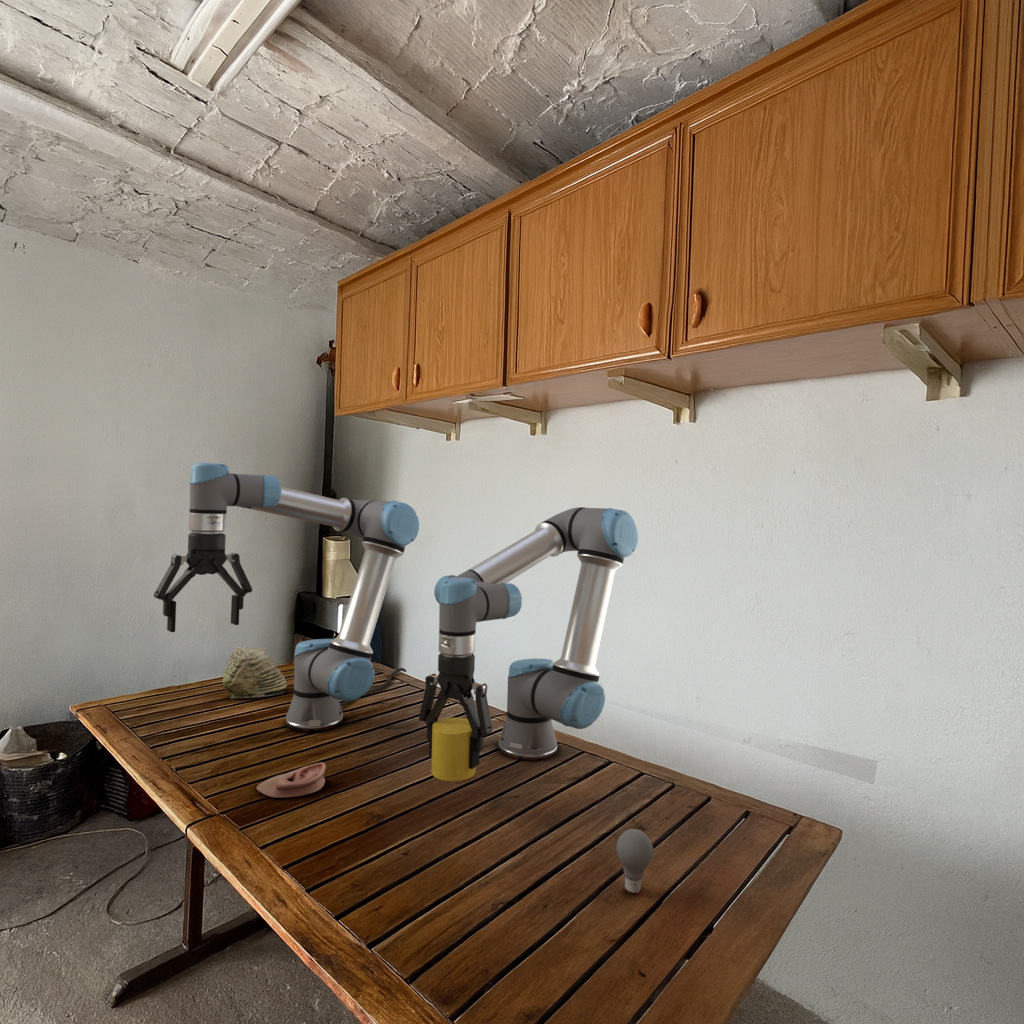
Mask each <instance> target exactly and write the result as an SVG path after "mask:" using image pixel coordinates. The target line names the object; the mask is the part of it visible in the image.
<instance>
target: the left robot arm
mask: <svg viewBox="0 0 1024 1024" xmlns="http://www.w3.org/2000/svg"><path fill="white" fill-rule="evenodd" d="M188 483H189V510H188V511H189V513H188V530H189V532H190V533H188V535H187V536H188V537H187V554H186V555H179V554H172V555H171V558H170V564H169V566H168V568H167V570H166V572H165V573H164V575H163V577H162V579H161V580H160V582H159V584H158V586H157V587H156V590H155V591H154V593H153V598H155V599H158V600H160V601H162V615H163V616H164V617H167V620H166V621H167V624H166V631H167V632H170V633H175V632H176V621H177V620H176V619H177V601H176V600H174V599H175V598H176V597H177V596H178V594H179V593H180V592H181V591H182V590H183V589H184V587H186V585H187V584H188V583H189V582H190V581H191V579H193V578H194V577H195V576H197V575H200V576H205V575H208V574H209V575H215V574H217V575H218V576H219V577H220V578H221V579H222V580H223V581H224V582H225V583H226V585H227V586H228V587H229V589H231V590H232V592H233V593H234V594H232V595H231V601H230V602H231V605H230V606H231V607H230V624H231V625H234V626H239V625H240V610H243V609H244V599H245V596H246V595H247V594H249V593H252V592H253V587H252V585H251V583H250V581H249V579H248V577H247V575H246V572H245V570H244V569H243V566H242V564H241V559H240V554H239V553H237V552H231V553H229V554H226V539H227V537H226V534H225V533H224V532H225V531H227V512H228V507H237V508H243V509H248V510H252V511H258V512H263V513H267V514H273V515H277V516H282V517H287V518H291V519H296V520H301V521H305V522H310V523H315V524H321V525H325V526H330V527H332V528H333V529H334V530H335V531H336V532H341V533H345V534H349V535H351V536H355V537H357V538H359V539H362V541H361V544H362V546H363V548H364V554H363V556H362V559H361V563H360V565H359V569H358V572H357V575H356V579H355V582H354V585H353V588H352V590H351V594H350V597H349V600H348V603H347V607H346V610H345V612H344V616H343V620H342V622H341V625H340V629H339V632H338V635H337V636H336V637H335V638H319V639H308V640H303V641H300V642H297V644H296V646H295V650H294V655H293V657H294V672H293V695H292V696H293V697H292V699H291V702H290V704H289V708H288V711H287V713H286V715H285V726H286V728H287V729H289V730H291V731H294V732H295V731H296V732H301V733H316V732H325V731H329V730H332V729H335V728H337V727H339V726H340V725H342V723H343V722H344V713H343V709H342V707H344V706H346V705H348V704H349V703H350V702H353V701H357V700H359V699H360V698H361V697H363V696H366V695H370V694H373V693H376V692H377V691H380V690H382V689H384V688H386V687H387V686H388V685H389V683H390V682H391V680H392V678H393V676H394V675H396V674H397V673H399V672H400V671H402V672H403V673H407V669H405V668H404V667H399V668H397V669H396V670H393V672H391V673H390V674H389V676H388V678H387V680H386V681H385V682H384V683H383V684H381V685H379V686H377V687H375V688H372V685H373V683H374V681H375V674H376V672H375V668H374V665H373V664H372V662H371V661H372V658H373V654H374V650H373V649H372V647H371V641H372V639H373V635H374V632H375V628H376V624H377V622H378V619H379V615H380V612H381V608H382V605H383V602H384V599H385V595H386V593H387V589H388V586H389V582H390V579H391V576H392V573H393V570H394V566H395V564H396V560H397V559H398V558H400V557H402V556H403V555H404V553H405V549H406V546H408V545H410V544H411V543H412V542H414V541H415V540H416V539H417V537H418V534H419V531H420V520H419V517H418V515H417V512H416V510H415V509H414V508H413V507H412V506H410V505H409V504H408V503H406V502H401V501H398V500H374V499H371V500H370V499H369V500H368V499H367V500H365V499H364V500H363V499H360V500H359V499H352V498H347V497H341V498H340V499H336V498H332V497H327V496H323V495H320V494H316V493H310V492H306V491H302V490H298V489H294V488H290V487H285V486H282V485H281V482H280V480H279V478H278V477H276V476H274V475H266V474H250V473H249V474H247V473H232V472H230V471H229V466H228V464H225V463H215V462H195V463H194V464H192V465H191V469H190V478H189V482H188ZM185 562H186V564H187V565H188V566H187V568H186V569H185V570H184V571H183V573H182V574H181V576H180V577H179V578H178V579H177V580H176V581H175V582H174V583H173V581H174V579H175V578H176V575H177V574H178V572H179V571H180V569H181V566H183V565H184V564H185ZM226 562H228V563H229V564H230V565H231V568H232V569H233V572H234V574H235V577H236V578H237V580H238V582H239V583H238V582H237V581H235V579H234V578H233V576H231V575H230V574H229V572H228V570H227V569H226V568H225V567H224V564H225V563H226ZM172 583H173V584H172ZM239 584H240V585H239ZM170 586H171V587H170ZM371 688H372V689H371ZM340 701H342V702H340Z"/></svg>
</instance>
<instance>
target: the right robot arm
mask: <svg viewBox="0 0 1024 1024" xmlns="http://www.w3.org/2000/svg"><path fill="white" fill-rule="evenodd" d="M638 541H639V532H638V527H637V524H636V522H635V520H634V518H633V516H632V515H631V514H630V513H629V512H627V511H626V510H623V509H617V508H612V507H607V508H604V507H603V508H602V507H583V506H582V507H581V506H579V507H578V506H577V507H572V508H570V509H569V508H568V509H566V510H563V511H561V512H559V513H557V514H555V515H553V516H551V517H549V518H547V519H545V520H544V521H542V522H540V523H538V524H537V525H536V527H535V529H534V531H532V532H531V533H529V534H527V535H526V536H524V537H522V538H520V539H519V540H517V541H515V542H514V543H512V544H510V545H508V546H507V547H505V548H503V549H501V550H500V551H498V552H496V553H495V554H493V555H491V556H490V557H488V558H486V559H485V560H482V561H481V562H479V563H477V564H475V565H474V566H472V567H470V568H469V569H467V570H465V571H463V572H462V573H460V574H458V575H455V574H454V575H453V574H451V575H448V574H447V575H444V576H442V577H440V578H439V579H438V580H437V582H436V583H435V586H434V591H433V593H434V599H435V601H436V602H437V604H438V605H439V606H438V607H439V610H438V611H439V612H438V613H439V615H438V617H439V618H438V630H439V631H438V652H439V654H438V655H437V658H438V659H437V671H438V674H436V673H432V674H429V675H427V676H425V679H424V680H425V689H424V694H423V696H422V697H423V698H422V701H421V705H420V706H421V707H420V711H419V715H418V720H419V721H420V722H423V723H425V725H426V739H427V741H429V742H428V758H429V759H432V727H433V724H434V723H435V722H436V721H438V720H439V717H440V716H441V714H442V712H443V710H444V708H445V706H446V704H447V702H448V700H449V699H453V700H456V701H459V702H458V703H459V705H460V706H462V708H463V711H464V713H465V716H466V719H468V722H469V724H470V727H471V730H472V732H473V735H472V736H470V752H469V768H470V769H473V768H475V767H476V768H477V767H478V766H479V765H480V752H481V751H483V749H484V737H486V736H487V735H489V734H491V733H492V732H493V726H492V725H493V724H492V719H491V714H490V707H489V702H488V696H487V693H488V684H487V683H486V682H485V683H482V684H481V683H478V682H476V680H475V678H474V674H475V668H476V667H475V666H476V664H475V663H476V661H475V660H476V655H475V652H476V632H477V631H476V629H477V623H481V622H487V621H494V620H495V621H497V620H506V619H509V618H512V617H516V615H518V614H519V613H520V611H521V609H522V605H523V597H522V593H521V591H520V589H519V588H518V586H517V585H515V584H514V583H509V582H510V581H512V580H514V579H515V578H517V577H519V576H520V575H522V574H523V573H525V572H526V571H528V570H529V569H531V568H533V567H535V566H536V565H537V564H539V563H541V562H543V561H544V560H546V559H548V558H549V557H553V558H554V557H558V556H559V555H562V554H563V553H566V552H567V553H568V552H577V553H576V557H577V559H578V560H579V561H580V569H579V574H578V577H577V582H576V588H575V592H574V595H573V601H572V605H571V609H570V615H569V619H568V622H567V623H568V624H567V628H566V632H565V633H566V634H565V638H564V642H563V646H562V651H561V655H560V657H559V658H558V660H556V661H553V660H552V659H550V658H524V659H523V658H522V659H518V660H514V661H513V662H511V663H510V665H509V668H508V676H507V695H506V696H507V697H506V699H507V702H506V719H505V721H504V724H503V726H502V730H501V732H500V735H499V738H498V746H497V748H498V750H499V752H501V753H502V754H504V755H505V756H506V757H507V756H508V757H511V758H512V759H518V760H523V761H540V760H544V759H549V758H551V757H553V756H555V755H556V753H558V739H557V737H556V733H555V729H554V725H553V722H552V720H553V721H555V722H557V723H559V724H561V725H562V726H564V727H569V728H574V729H576V730H582V729H586V728H589V727H590V726H592V725H593V723H595V722H596V721H597V720H598V718H599V717H600V715H601V714H602V712H603V709H604V706H605V703H606V702H605V701H606V693H605V690H604V687H603V686H602V685H601V684H600V683H599V680H600V672H599V671H598V669H597V667H596V665H597V660H598V659H597V658H598V654H599V649H600V645H601V639H602V636H603V635H602V634H603V631H604V625H605V621H606V616H607V611H608V607H609V603H610V597H611V593H612V588H613V582H614V577H615V573H616V571H617V570H619V569H620V568H622V567H623V565H624V561H625V558H628V557H630V556H632V555H633V553H634V552H635V551H636V549H637V546H638ZM438 685H439V687H440V690H439V692H438V694H437V699H436V700H435V697H436V692H437V689H438ZM472 691H473V693H472ZM473 694H474V695H475V697H474V695H473ZM474 698H475V699H474ZM434 700H435V702H434ZM474 700H475V702H474Z"/></svg>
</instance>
